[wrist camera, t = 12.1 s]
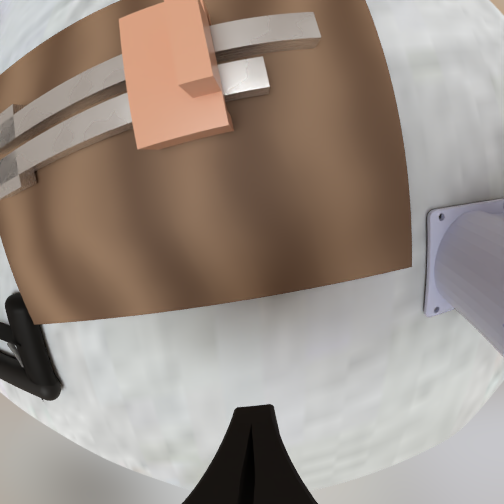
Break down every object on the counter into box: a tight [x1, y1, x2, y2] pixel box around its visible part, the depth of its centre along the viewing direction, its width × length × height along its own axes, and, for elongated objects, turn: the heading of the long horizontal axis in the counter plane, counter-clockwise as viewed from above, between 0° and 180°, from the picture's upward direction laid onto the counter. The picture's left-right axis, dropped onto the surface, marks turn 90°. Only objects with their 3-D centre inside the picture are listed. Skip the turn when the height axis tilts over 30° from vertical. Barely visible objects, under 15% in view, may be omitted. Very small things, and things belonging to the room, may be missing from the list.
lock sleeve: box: [119, 0, 234, 150], centre depth 10 cm, size 4×7×5 cm, turn 11°
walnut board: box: [0, 0, 412, 325], centre depth 15 cm, size 28×20×2 cm
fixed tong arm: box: [0, 12, 321, 154], centre depth 12 cm, size 21×2×2 cm, turn 101°
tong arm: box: [0, 56, 270, 200], centre depth 13 cm, size 18×2×2 cm, turn 101°
